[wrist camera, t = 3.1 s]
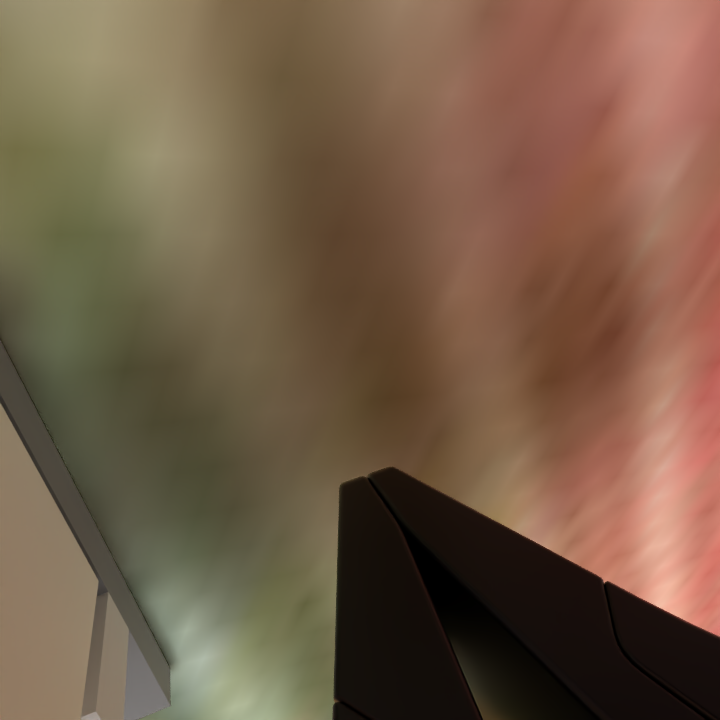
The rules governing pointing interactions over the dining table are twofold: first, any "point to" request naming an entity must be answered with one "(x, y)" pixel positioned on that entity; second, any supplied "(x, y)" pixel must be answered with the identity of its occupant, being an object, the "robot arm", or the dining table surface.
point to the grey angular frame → (114, 600)
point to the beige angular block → (39, 595)
